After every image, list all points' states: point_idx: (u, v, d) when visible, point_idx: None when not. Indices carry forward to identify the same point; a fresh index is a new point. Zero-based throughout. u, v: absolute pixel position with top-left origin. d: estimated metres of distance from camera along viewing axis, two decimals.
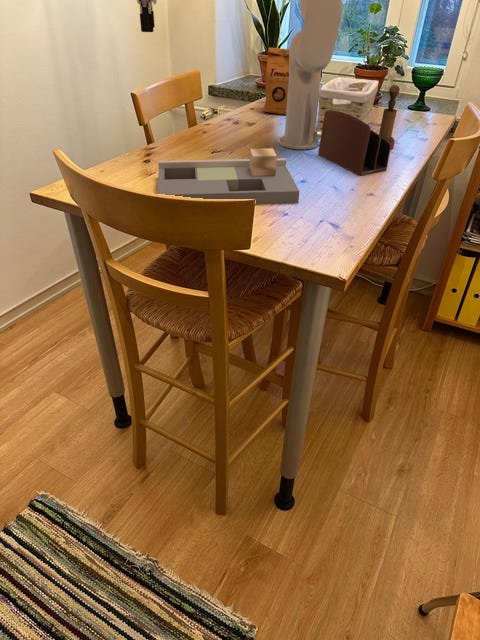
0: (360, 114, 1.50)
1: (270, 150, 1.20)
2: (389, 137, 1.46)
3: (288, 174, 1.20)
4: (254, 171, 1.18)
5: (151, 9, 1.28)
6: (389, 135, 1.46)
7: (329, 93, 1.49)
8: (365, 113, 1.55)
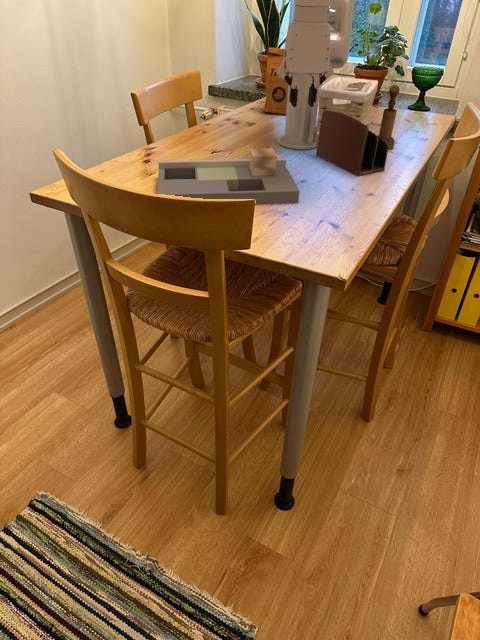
0: (360, 114, 1.50)
1: (270, 150, 1.20)
2: (389, 137, 1.46)
3: (288, 174, 1.20)
4: (254, 171, 1.18)
5: None
6: (389, 135, 1.46)
7: (329, 93, 1.49)
8: (365, 113, 1.56)
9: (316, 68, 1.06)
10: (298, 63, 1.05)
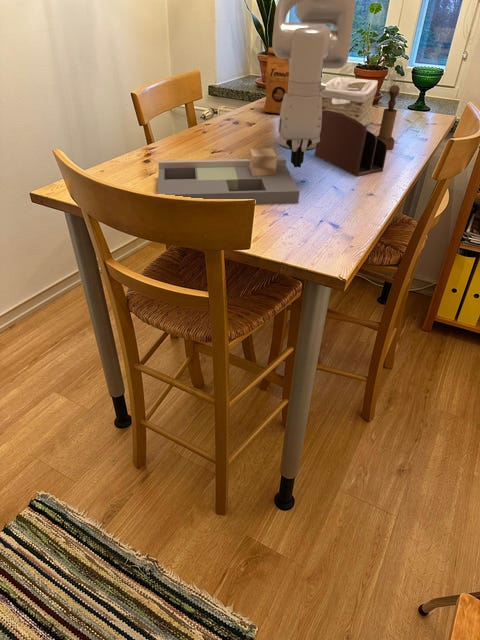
0: (359, 114, 1.50)
1: (270, 150, 1.20)
2: (389, 137, 1.46)
3: (288, 174, 1.20)
4: (254, 171, 1.18)
5: None
6: (389, 135, 1.46)
7: (328, 93, 1.49)
8: (364, 113, 1.56)
9: (308, 134, 1.15)
10: (292, 130, 1.14)
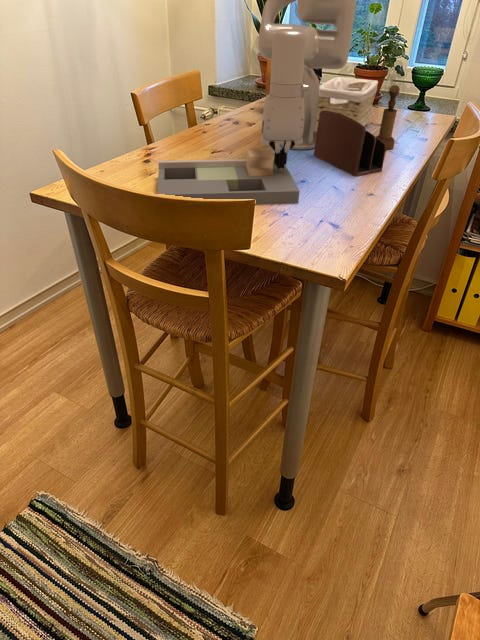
0: (357, 114, 1.50)
1: (267, 150, 1.20)
2: (389, 137, 1.46)
3: (288, 174, 1.20)
4: (251, 171, 1.18)
5: None
6: (389, 135, 1.46)
7: (326, 92, 1.50)
8: (363, 113, 1.56)
9: (291, 136, 1.14)
10: (275, 132, 1.13)
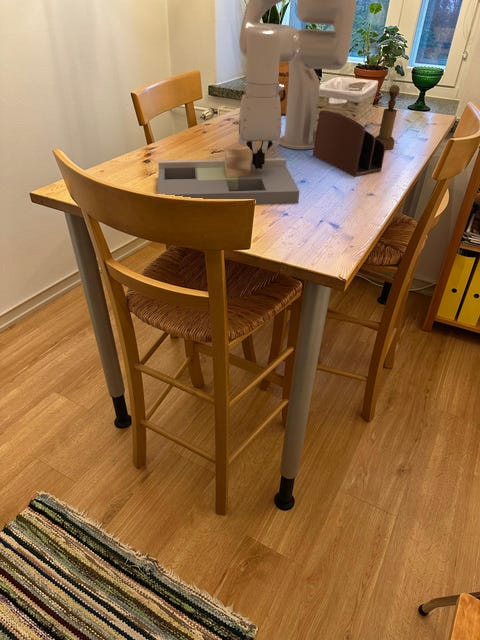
0: (355, 113, 1.50)
1: (245, 151, 1.19)
2: (389, 137, 1.46)
3: (288, 174, 1.20)
4: (228, 172, 1.17)
5: None
6: (389, 135, 1.46)
7: (325, 92, 1.50)
8: (362, 113, 1.56)
9: (268, 136, 1.14)
10: (251, 132, 1.13)
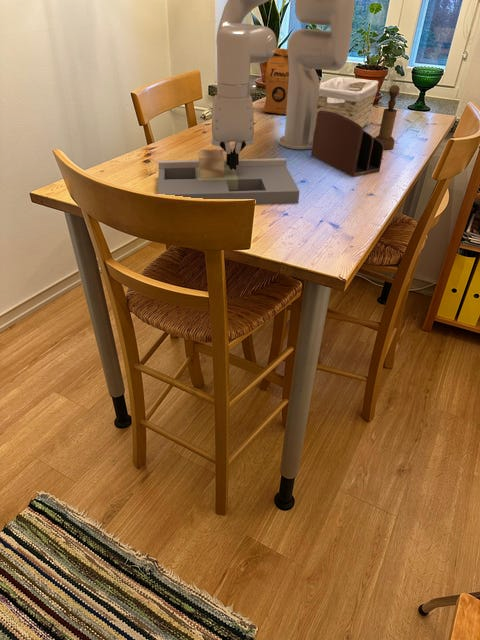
0: (353, 113, 1.50)
1: (219, 151, 1.18)
2: (389, 137, 1.46)
3: (288, 174, 1.20)
4: (202, 173, 1.16)
5: None
6: (389, 135, 1.46)
7: (323, 91, 1.51)
8: (360, 112, 1.56)
9: (241, 136, 1.13)
10: (224, 132, 1.12)
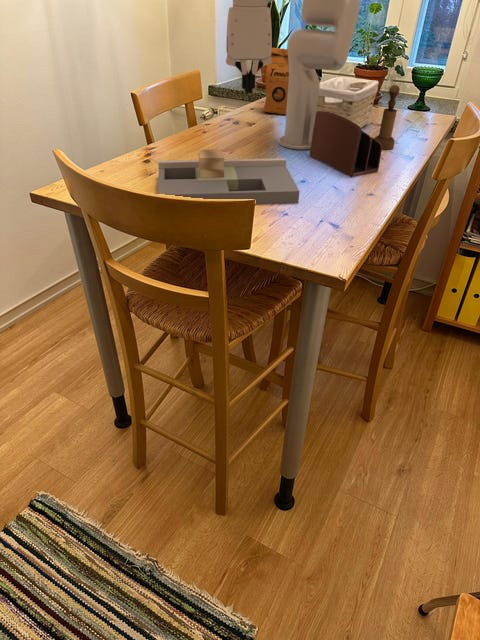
0: (350, 113, 1.51)
1: (219, 151, 1.18)
2: (389, 137, 1.46)
3: (288, 174, 1.20)
4: (202, 173, 1.16)
5: None
6: (389, 135, 1.46)
7: (320, 91, 1.51)
8: (358, 112, 1.56)
9: (258, 53, 1.05)
10: (240, 49, 1.04)
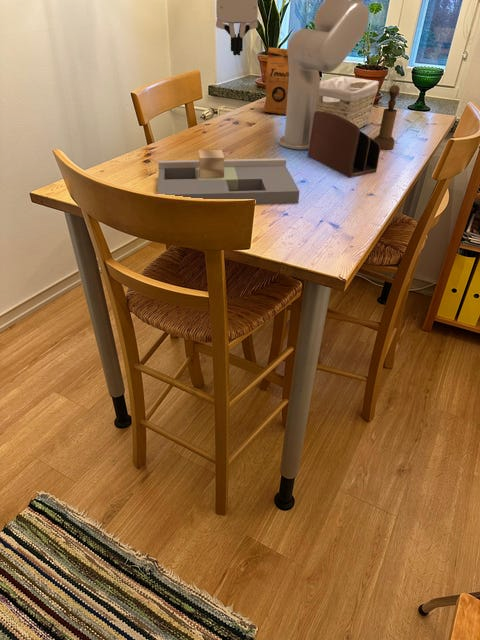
0: (347, 112, 1.51)
1: (219, 151, 1.18)
2: (389, 137, 1.46)
3: (288, 174, 1.20)
4: (202, 173, 1.16)
5: None
6: (389, 135, 1.46)
7: None
8: (356, 112, 1.56)
9: (245, 17, 1.15)
10: (228, 12, 1.14)
